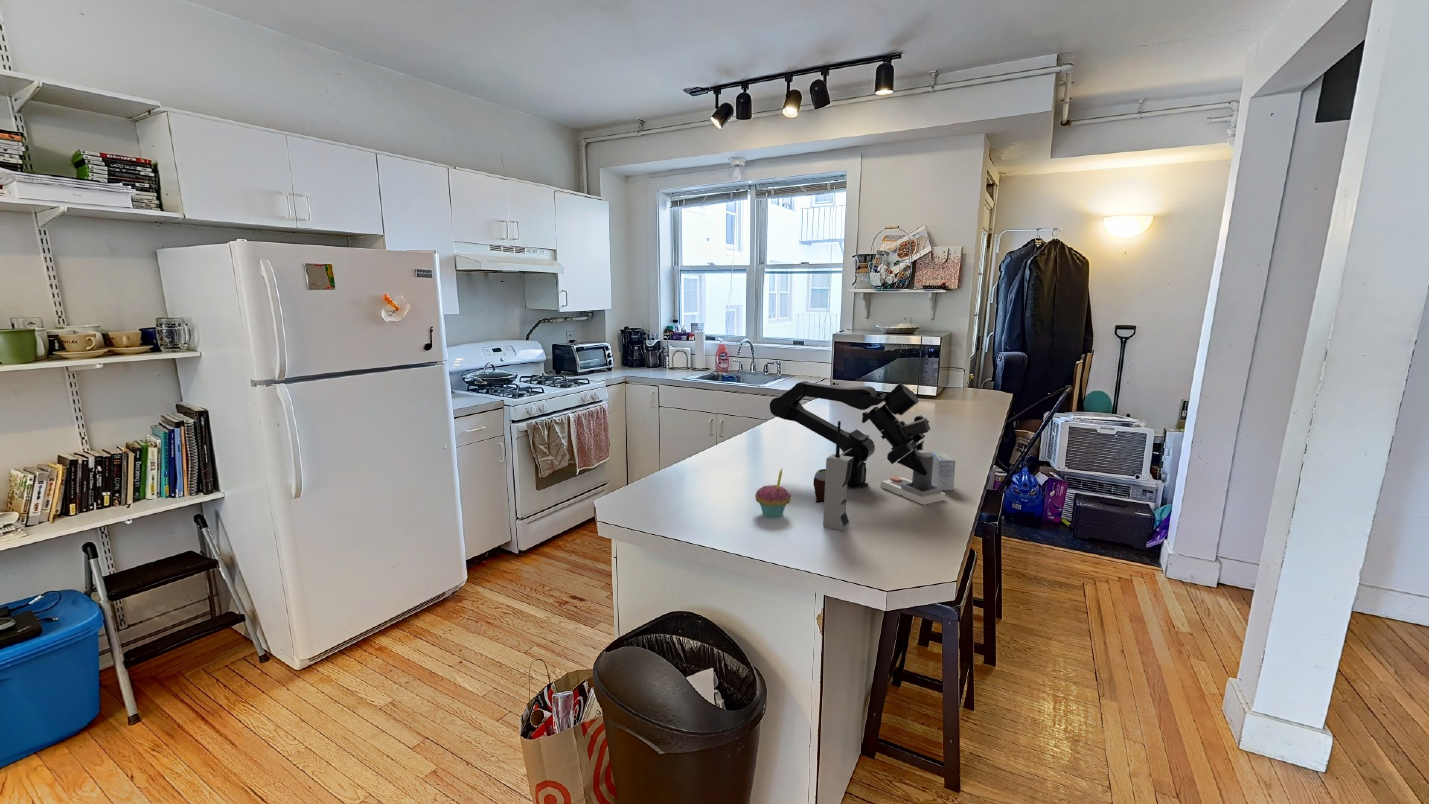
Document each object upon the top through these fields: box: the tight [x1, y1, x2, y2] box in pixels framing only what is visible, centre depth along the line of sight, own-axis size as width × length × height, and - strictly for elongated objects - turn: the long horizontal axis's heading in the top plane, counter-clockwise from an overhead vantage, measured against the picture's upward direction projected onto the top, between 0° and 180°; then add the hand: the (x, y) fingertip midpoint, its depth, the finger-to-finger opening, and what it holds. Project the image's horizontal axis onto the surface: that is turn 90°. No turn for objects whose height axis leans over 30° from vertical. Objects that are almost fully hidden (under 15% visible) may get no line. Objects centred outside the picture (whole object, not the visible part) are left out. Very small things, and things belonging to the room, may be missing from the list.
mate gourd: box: [813, 448, 852, 504], centre depth 146 cm, size 8×8×15 cm
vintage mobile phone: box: [822, 420, 853, 532], centre depth 129 cm, size 4×5×25 cm
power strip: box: [880, 476, 946, 506], centre depth 154 cm, size 8×15×3 cm, turn 28°
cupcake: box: [754, 468, 792, 519], centre depth 138 cm, size 9×8×12 cm
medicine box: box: [931, 452, 956, 491], centre depth 160 cm, size 8×4×9 cm, turn 179°
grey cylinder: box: [911, 449, 934, 491], centre depth 151 cm, size 5×5×10 cm
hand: (928, 471), depth 150 cm, fingers closed on grey cylinder, 5 cm apart
